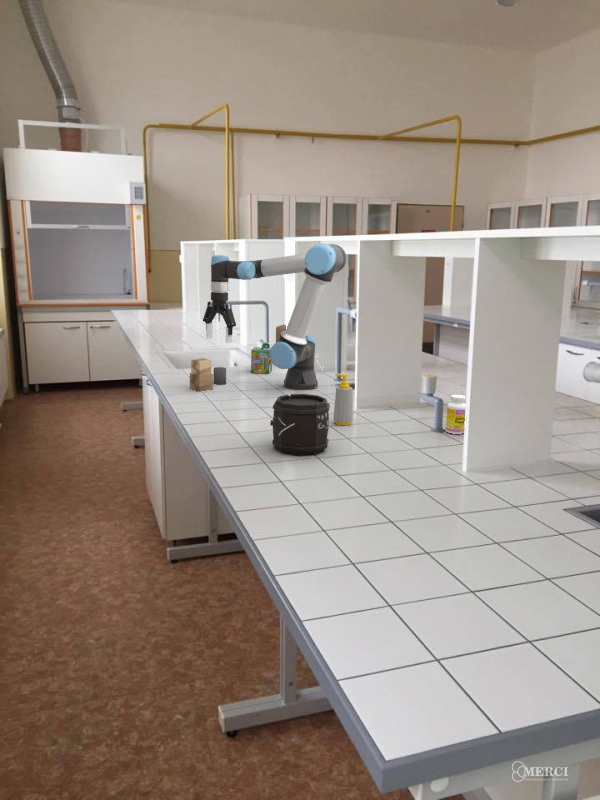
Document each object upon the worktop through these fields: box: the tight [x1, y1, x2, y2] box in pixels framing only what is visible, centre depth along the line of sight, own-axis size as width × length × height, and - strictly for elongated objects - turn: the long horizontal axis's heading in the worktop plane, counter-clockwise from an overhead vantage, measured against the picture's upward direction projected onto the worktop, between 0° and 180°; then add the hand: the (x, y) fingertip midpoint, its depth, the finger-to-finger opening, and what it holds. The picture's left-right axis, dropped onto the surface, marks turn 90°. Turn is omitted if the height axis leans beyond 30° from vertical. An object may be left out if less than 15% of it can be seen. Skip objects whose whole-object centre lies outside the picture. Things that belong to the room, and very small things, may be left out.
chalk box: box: [250, 341, 273, 375], centre depth 329 cm, size 9×9×15 cm
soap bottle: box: [333, 373, 354, 426], centre depth 238 cm, size 7×7×18 cm
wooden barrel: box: [269, 393, 331, 457], centre depth 208 cm, size 18×18×16 cm
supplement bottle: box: [445, 394, 467, 435], centre depth 231 cm, size 7×7×13 cm
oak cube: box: [190, 357, 212, 375], centre depth 287 cm, size 6×6×6 cm
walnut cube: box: [189, 372, 214, 393], centre depth 288 cm, size 7×7×7 cm
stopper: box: [213, 366, 227, 386], centre depth 301 cm, size 6×6×7 cm
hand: (218, 340), depth 298 cm, fingers open, 13 cm apart
